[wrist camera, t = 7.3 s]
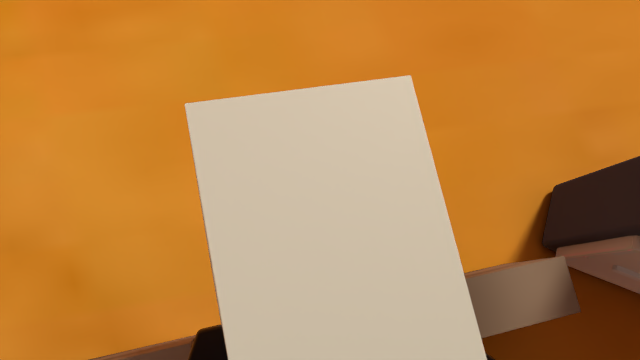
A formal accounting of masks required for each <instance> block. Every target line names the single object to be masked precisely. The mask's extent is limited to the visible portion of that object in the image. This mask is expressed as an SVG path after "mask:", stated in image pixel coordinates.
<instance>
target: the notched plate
mask: <svg viewBox="0 0 640 360" xmlns="http://www.w3.org/2000/svg"><path fill="white" fill-rule="evenodd" d="M185 109H186V115H187V121H188V127H189V134H190V140H191V146H192V152H193V158H194V164H195V170H196V177H197V183H198V189H199V195H200V201H201V207H202V214H203V220H204V226H205V232H206V238H207V244H208V250H209V256H210V262H211V268H212V273H213V279H214V285H215V291H216V297H217V303H218V308H219V314H220V320H221V325H222V329H223V335H224V341H225V346H226V352H227V358H228V360H487V358H486V354H485V350H484V346H483V343H482V339H481V335H480V332H479V328H478V324H477V320H476V317H475V313H474V309H473V306H472V302H471V298H470V294H469V291H468V287H467V283H466V280H465V276H464V272H463V268H462V265H461V261H460V257H459V254H458V250H457V246H456V242H455V239H454V235H453V231H452V227H451V224H450V220H449V216H448V213H447V209H446V205H445V201H444V198H443V194H442V190H441V187H440V183H439V179H438V175H437V172H436V168H435V164H434V161H433V157H432V153H431V149H430V146H429V142H428V138H427V135H426V131H425V127H424V123H423V120H422V116H421V112H420V108H419V105H418V101H417V97H416V94H415V90H414V86H413V82H412V79H411V75H409V76H401V77H393V78H385V79H377V80H369V81H361V82H353V83H345V84H337V85H329V86H321V87H313V88H305V89H297V90H290V91H282V92H274V93H266V94H258V95H250V96H242V97H234V98H226V99H218V100H210V101H202V102H194V103H186V104H185Z"/></svg>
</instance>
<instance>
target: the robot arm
mask: <svg viewBox="0 0 640 360" xmlns="http://www.w3.org/2000/svg"><path fill="white" fill-rule="evenodd" d="M485 354H486V358H487V360H495V359H494V358H492V357H491V356H490V355H488V354H487V353H485ZM188 360H228V358H227V352H226V346H225V341H224V335H223V329H222V325H216V326H212V327H208V328H203V329H200V330H199V331H198V332H197V334H196V336H195V339H194V342H193V345H192V348H191V351H190V354H189V357H188Z"/></svg>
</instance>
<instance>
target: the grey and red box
mask: <svg viewBox="0 0 640 360" xmlns="http://www.w3.org/2000/svg"><path fill="white" fill-rule="evenodd" d="M542 244H543V246H544V247H546V248H548V249H550V250H552V251H555V252H556V256H555V257H560V256H564V257H565V260H566V263H567V266H569V267H572V268H574V269H577V270H580V271H582V272H585V273H587V274H590V275H592V276H595V277H597V278H600V279H603V280H605V281H608V282H610V283H613V284H615V285H618V286H621V287H623V288H626V289H628V290H631V291H633V292H636V293H639V294H640V156H638V157H636V158H633V159H630V160H627V161H624V162H621V163H618V164H615V165H613V166H610V167H607V168H604V169H601V170H598V171H595V172H593V173H590V174H587V175H584V176H581V177H578V178H575V179H572V180H570V181H567V182H564V183H561V184H558V185H556V186H555V187H554V188H553V192H552V197H551V202H550V207H549V211H548V216H547V221H546V226H545V231H544V236H543V241H542Z"/></svg>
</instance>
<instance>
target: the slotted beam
mask: <svg viewBox="0 0 640 360" xmlns="http://www.w3.org/2000/svg"><path fill="white" fill-rule="evenodd" d="M464 276H465V280H466V283H467V287H468V291H469V294H470V298H471V302H472V306H473V309H474V313H475V317H476V320H477V324H478V328H479V332H480V335H481V338H485V337H488V336H492V335H496V334H500V333H503V332H507V331H511V330H515V329H518V328H522V327H526V326H530V325H533V324H537V323H541V322H545V321H548V320H552V319H556V318H560V317H564V316H567V315H571V314H575V313H579V312H581V309H580V306H579V303H578V300H577V296H576V293H575V290H574V286H573V283H572V280H571V277H570V273H569V270H568V267H567V263H566V260H565V257H564V256H560V257H552V258H545V259H538V260H530V261H523V262H516V263H509V264H503V265H498V266H494V267H489V268H485V269H481V270H476V271H472V272H468V273H464ZM195 336H196V335H194V336H190V337H185V338H181V339H176V340H172V341H168V342H163V343H159V344H155V345H150V346H146V347H142V348H137V349H133V350H129V351H124V352H120V353H116V354H111V355H107V356H103V357H98V358H94V359H90V360H188V357H189V354H190V351H191V348H192V345H193V342H194V339H195Z"/></svg>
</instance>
